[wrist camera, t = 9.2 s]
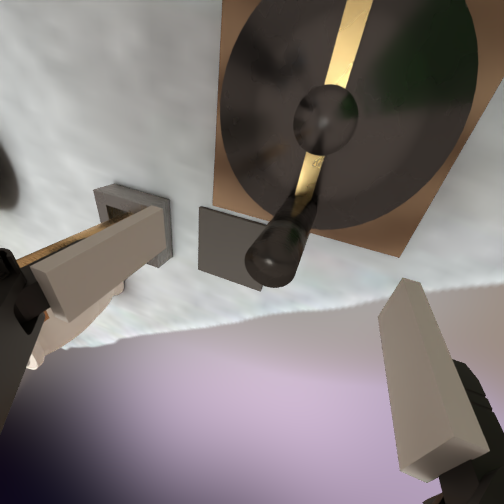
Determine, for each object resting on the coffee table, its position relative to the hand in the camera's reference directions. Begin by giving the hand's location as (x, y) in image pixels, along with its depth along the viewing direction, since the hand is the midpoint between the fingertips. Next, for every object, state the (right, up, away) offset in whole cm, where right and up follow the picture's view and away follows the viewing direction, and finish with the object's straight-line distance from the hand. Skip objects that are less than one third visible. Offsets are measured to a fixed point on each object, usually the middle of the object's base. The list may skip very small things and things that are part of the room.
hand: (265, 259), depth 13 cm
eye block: (-15, +4, +19) cm, 25 cm away
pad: (-3, +1, +16) cm, 16 cm away
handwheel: (+5, +10, +5) cm, 13 cm away
